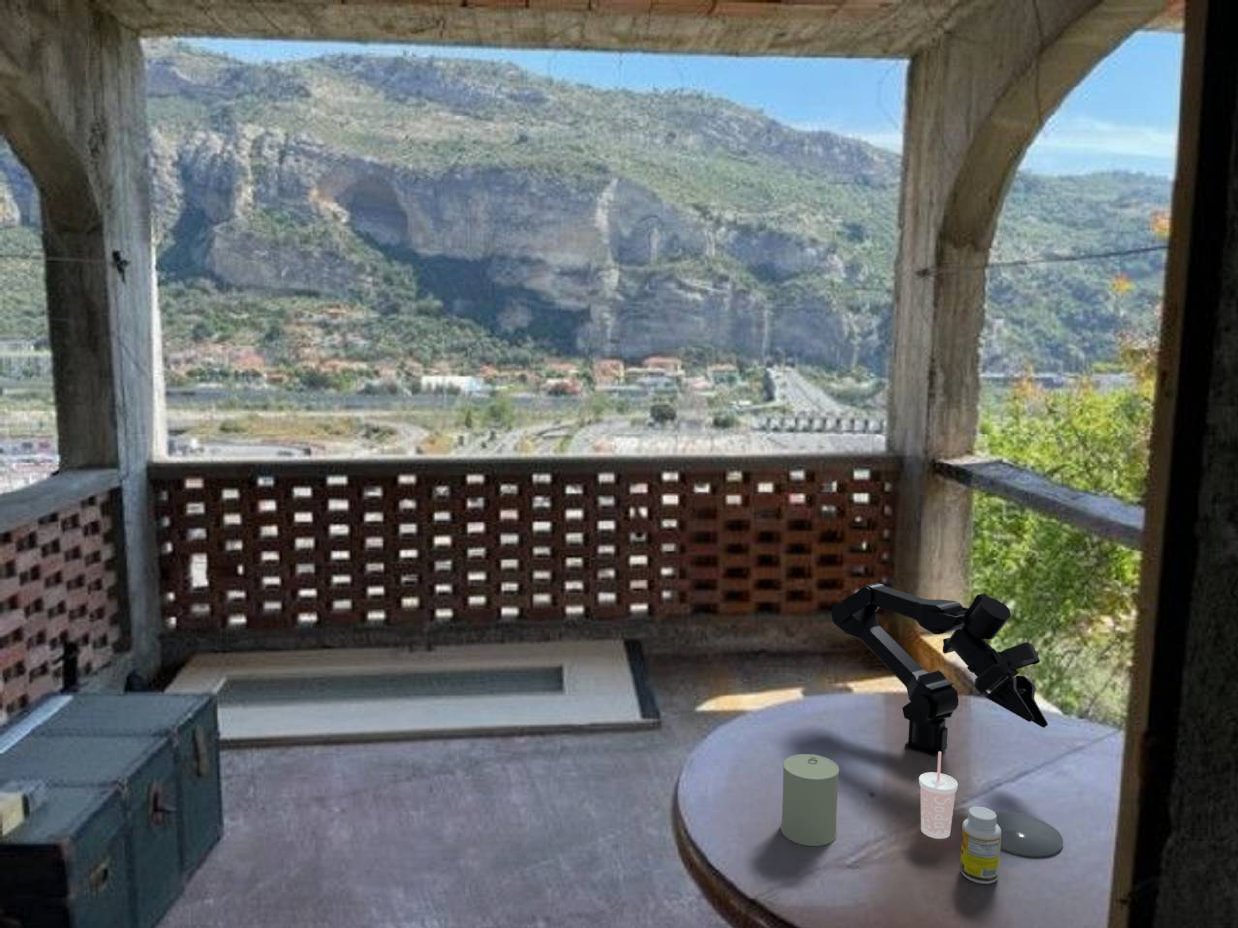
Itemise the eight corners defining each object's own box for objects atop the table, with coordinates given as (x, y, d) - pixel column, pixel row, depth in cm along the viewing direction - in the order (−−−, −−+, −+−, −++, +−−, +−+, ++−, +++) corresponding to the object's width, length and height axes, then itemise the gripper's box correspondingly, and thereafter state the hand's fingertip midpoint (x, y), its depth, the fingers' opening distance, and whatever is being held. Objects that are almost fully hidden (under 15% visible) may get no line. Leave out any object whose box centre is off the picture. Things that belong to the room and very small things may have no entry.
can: (839, 822, 156) (842, 755, 155) (833, 850, 148) (836, 780, 146) (785, 813, 159) (787, 747, 158) (776, 840, 151) (778, 771, 149)
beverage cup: (914, 836, 152) (919, 756, 150) (917, 818, 158) (921, 741, 156) (954, 844, 150) (959, 763, 148) (955, 825, 155) (960, 747, 154)
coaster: (965, 836, 152) (965, 833, 152) (992, 807, 162) (993, 803, 162) (1049, 866, 144) (1049, 863, 144) (1072, 833, 153) (1072, 829, 153)
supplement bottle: (967, 860, 145) (970, 799, 144) (1003, 873, 142) (1007, 811, 140) (953, 876, 141) (957, 813, 140) (991, 890, 137) (995, 826, 136)
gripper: (996, 617, 164) (1061, 686, 154) (1026, 636, 178) (1087, 701, 168) (949, 658, 167) (1010, 728, 157) (981, 673, 181) (1039, 739, 171)
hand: (1039, 723), depth 163 cm, fingers open, 9 cm apart
